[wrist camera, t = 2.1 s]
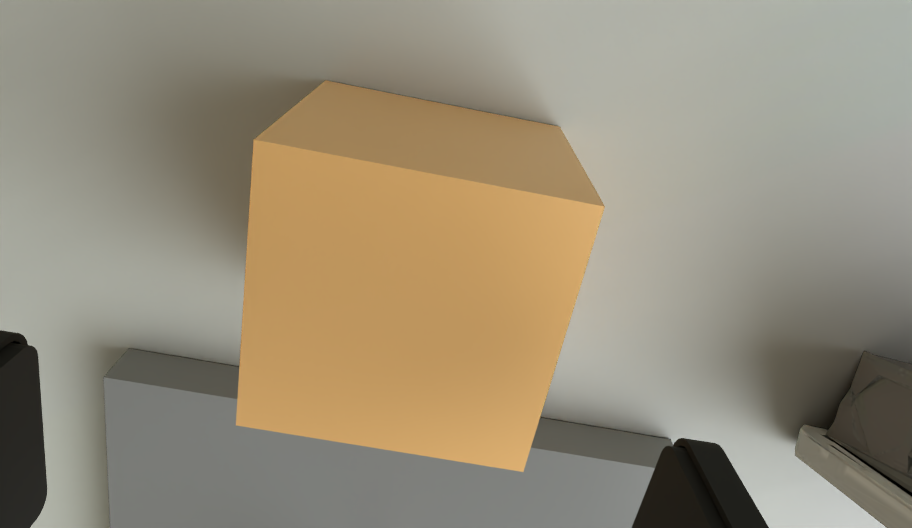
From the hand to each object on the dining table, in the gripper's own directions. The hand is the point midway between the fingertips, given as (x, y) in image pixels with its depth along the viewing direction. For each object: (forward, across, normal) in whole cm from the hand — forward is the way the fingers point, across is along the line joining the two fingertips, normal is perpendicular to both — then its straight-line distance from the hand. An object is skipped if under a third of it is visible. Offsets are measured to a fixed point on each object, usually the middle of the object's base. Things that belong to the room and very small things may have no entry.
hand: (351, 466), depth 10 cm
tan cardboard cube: (+9, -1, -1) cm, 9 cm away
